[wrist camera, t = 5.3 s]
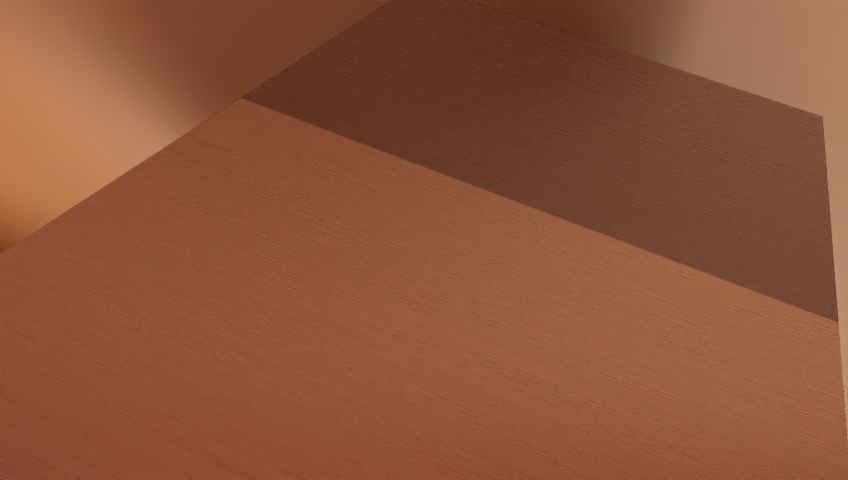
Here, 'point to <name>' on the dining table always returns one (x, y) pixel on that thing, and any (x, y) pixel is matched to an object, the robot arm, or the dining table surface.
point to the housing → (441, 278)
